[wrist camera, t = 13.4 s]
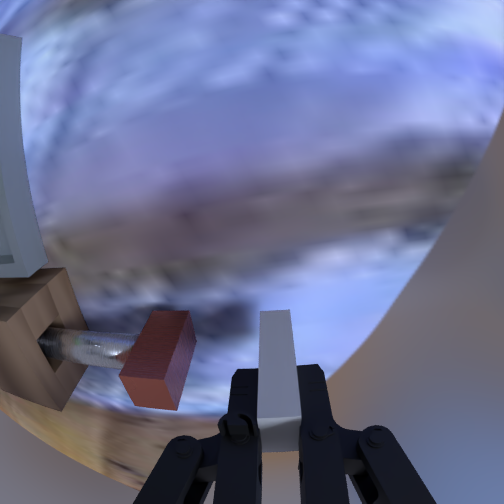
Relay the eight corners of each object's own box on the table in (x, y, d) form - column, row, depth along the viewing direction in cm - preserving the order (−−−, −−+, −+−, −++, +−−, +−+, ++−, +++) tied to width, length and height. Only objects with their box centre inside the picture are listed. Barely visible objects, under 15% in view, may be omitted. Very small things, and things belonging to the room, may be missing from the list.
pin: (189, 310, 16) (164, 379, 11) (196, 341, 16) (177, 410, 12) (52, 307, 16) (11, 354, 12) (64, 333, 17) (28, 381, 12)
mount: (65, 267, 16) (6, 321, 10) (98, 350, 19) (61, 411, 13) (7, 270, 17) (-44, 312, 11) (38, 342, 20) (1, 389, 14)
